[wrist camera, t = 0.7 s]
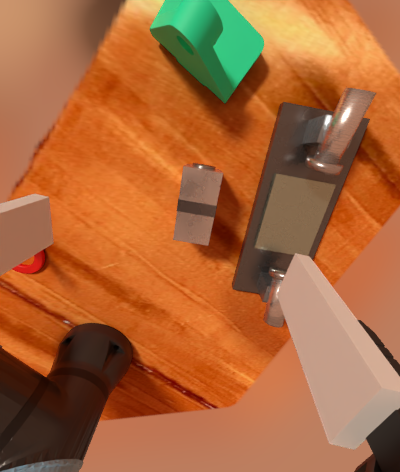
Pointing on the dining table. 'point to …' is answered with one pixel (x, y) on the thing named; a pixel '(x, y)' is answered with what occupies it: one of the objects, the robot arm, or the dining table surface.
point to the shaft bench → (298, 191)
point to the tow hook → (34, 267)
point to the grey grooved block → (197, 203)
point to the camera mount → (209, 41)
